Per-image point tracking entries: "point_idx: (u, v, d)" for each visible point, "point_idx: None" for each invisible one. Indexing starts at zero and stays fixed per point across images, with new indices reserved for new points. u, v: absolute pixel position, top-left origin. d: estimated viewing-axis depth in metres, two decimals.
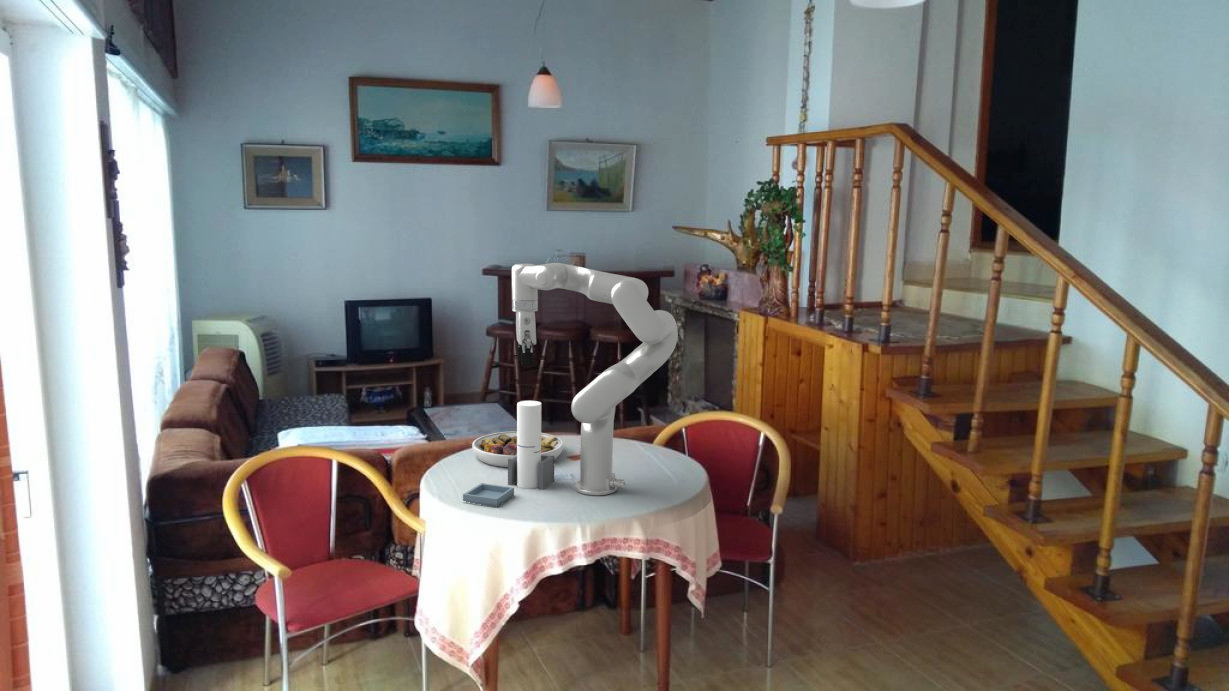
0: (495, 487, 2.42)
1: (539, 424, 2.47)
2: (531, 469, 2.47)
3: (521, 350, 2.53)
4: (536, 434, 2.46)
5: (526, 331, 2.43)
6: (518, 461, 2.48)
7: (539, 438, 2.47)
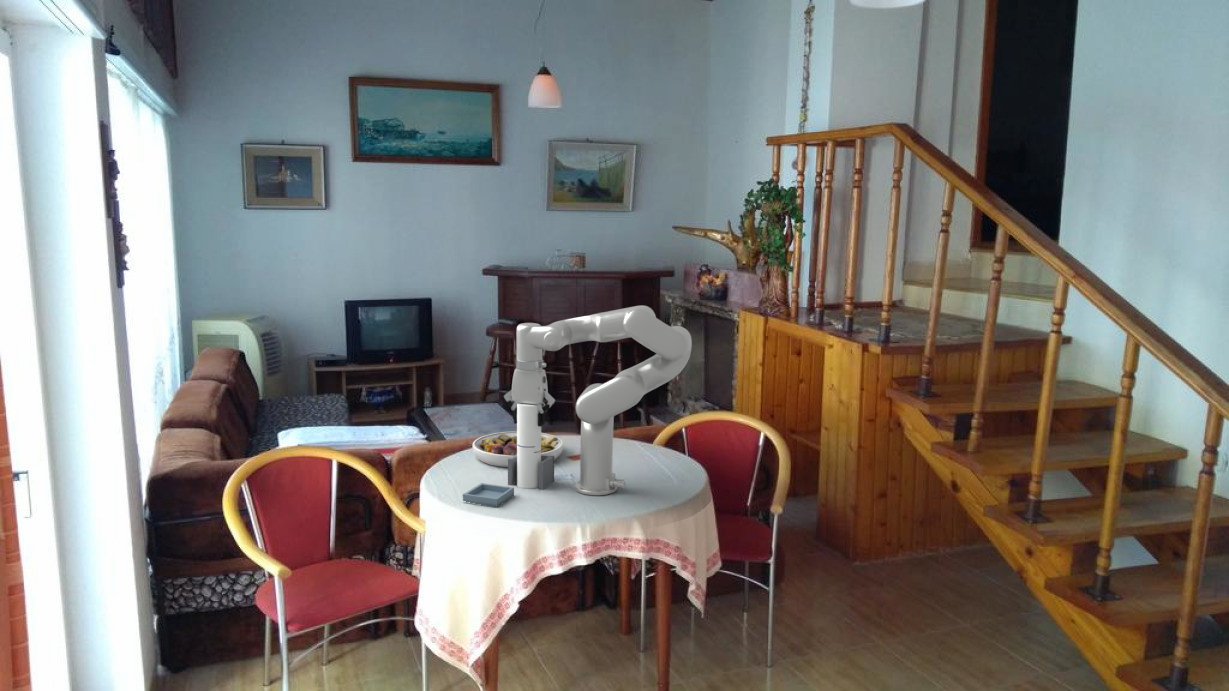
0: (495, 487, 2.42)
1: None
2: (531, 469, 2.47)
3: None
4: (536, 434, 2.46)
5: (544, 391, 2.45)
6: (518, 461, 2.48)
7: (539, 438, 2.47)
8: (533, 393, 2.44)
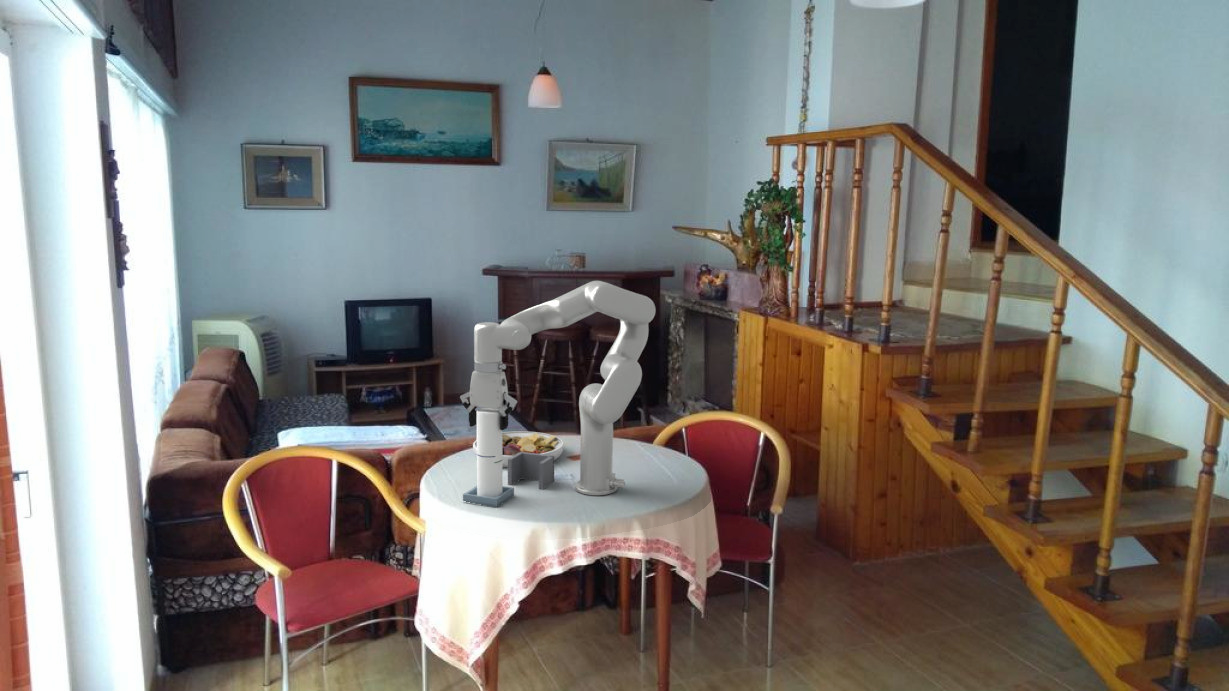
0: None
1: (500, 432, 2.33)
2: (492, 480, 2.34)
3: (473, 415, 2.35)
4: (497, 443, 2.33)
5: (504, 393, 2.31)
6: (477, 471, 2.35)
7: (500, 447, 2.34)
8: (492, 397, 2.30)
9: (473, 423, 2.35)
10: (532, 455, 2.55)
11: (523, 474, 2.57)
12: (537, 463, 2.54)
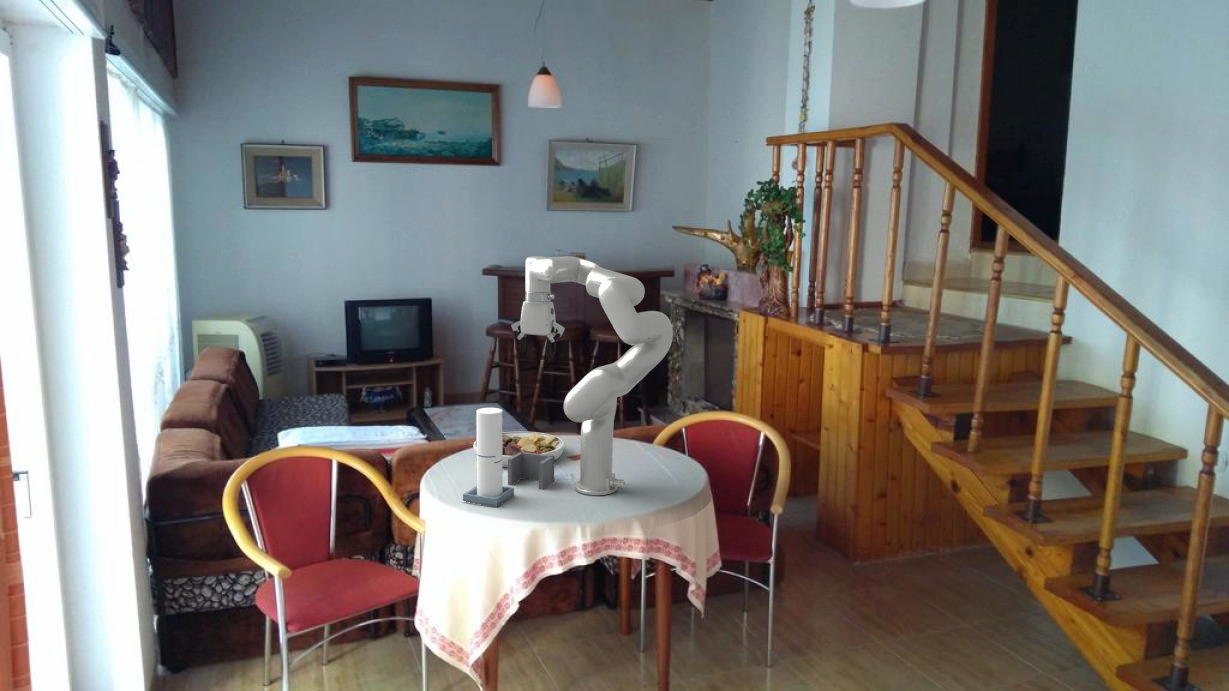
0: None
1: (500, 433, 2.33)
2: (492, 480, 2.34)
3: (523, 342, 2.56)
4: (497, 443, 2.33)
5: (552, 321, 2.52)
6: (477, 471, 2.35)
7: (500, 447, 2.34)
8: (541, 324, 2.51)
9: (523, 350, 2.56)
10: (532, 455, 2.55)
11: (523, 474, 2.57)
12: (537, 463, 2.54)
